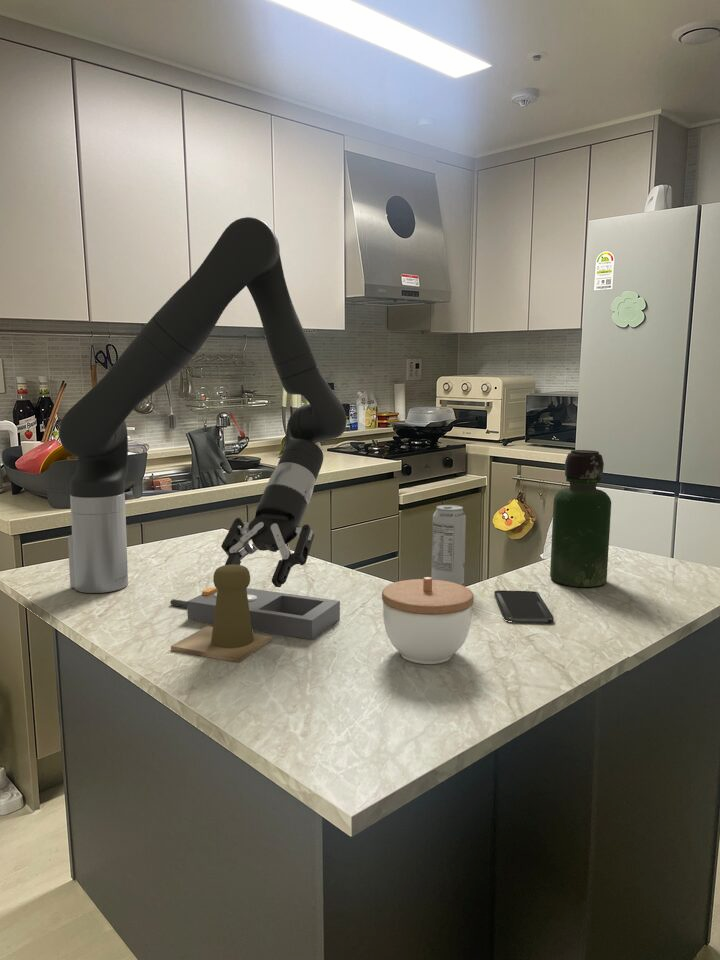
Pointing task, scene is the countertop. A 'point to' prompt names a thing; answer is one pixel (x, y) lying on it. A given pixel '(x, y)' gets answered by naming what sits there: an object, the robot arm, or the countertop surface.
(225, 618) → the pepper shaker
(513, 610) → the phone
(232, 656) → the cork pad
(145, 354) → the robot arm
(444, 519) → the energy drink can
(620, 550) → the countertop surface
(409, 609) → the lidded bowl
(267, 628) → the charging strip
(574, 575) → the green bottle
